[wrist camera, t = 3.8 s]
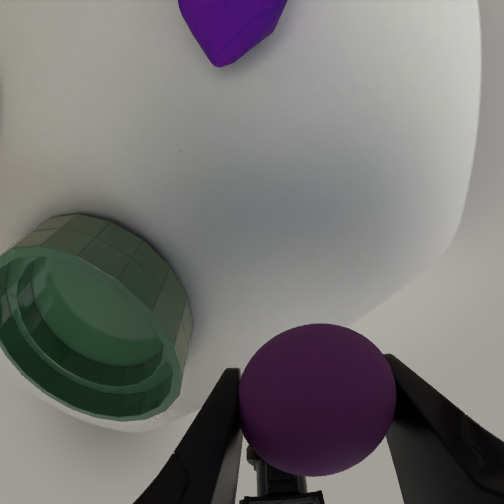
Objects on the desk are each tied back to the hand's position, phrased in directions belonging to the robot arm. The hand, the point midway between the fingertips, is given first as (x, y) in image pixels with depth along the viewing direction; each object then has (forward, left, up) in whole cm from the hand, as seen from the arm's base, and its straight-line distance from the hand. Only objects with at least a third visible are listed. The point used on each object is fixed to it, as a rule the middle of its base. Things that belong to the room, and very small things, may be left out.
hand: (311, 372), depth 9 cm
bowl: (-5, +13, -10) cm, 17 cm away
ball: (0, 0, +1) cm, 1 cm away
